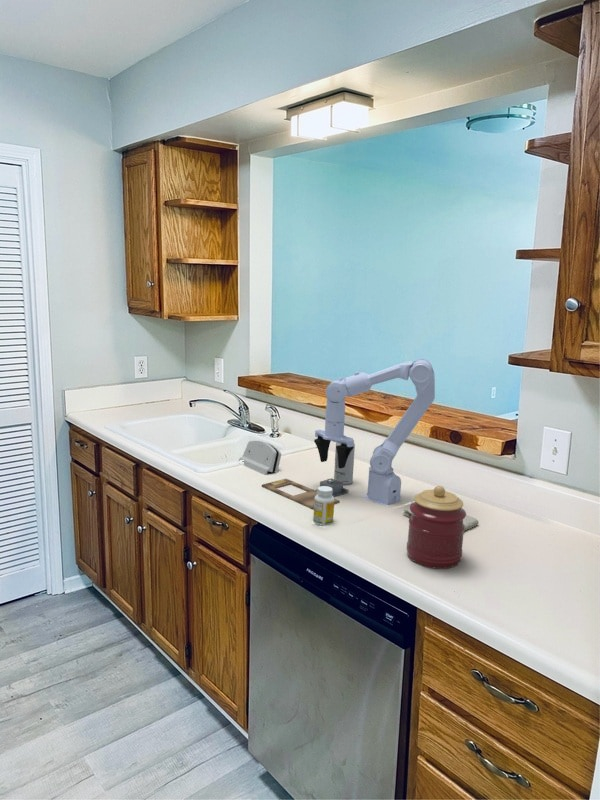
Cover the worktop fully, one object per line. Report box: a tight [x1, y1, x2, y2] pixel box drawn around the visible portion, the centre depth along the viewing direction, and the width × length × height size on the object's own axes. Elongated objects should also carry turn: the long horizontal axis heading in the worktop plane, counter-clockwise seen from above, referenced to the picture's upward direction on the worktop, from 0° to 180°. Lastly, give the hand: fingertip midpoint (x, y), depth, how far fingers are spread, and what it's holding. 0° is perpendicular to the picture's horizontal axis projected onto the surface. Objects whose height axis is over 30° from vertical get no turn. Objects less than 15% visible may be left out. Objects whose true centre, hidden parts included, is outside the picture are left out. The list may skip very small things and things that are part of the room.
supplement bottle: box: [312, 485, 335, 527], centre depth 156 cm, size 5×5×10 cm
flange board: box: [261, 478, 341, 511], centre depth 175 cm, size 24×10×2 cm, turn 42°
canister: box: [406, 485, 467, 569], centre depth 137 cm, size 13×13×18 cm
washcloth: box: [403, 506, 480, 532], centre depth 161 cm, size 12×18×3 cm, turn 44°
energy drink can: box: [333, 436, 356, 486], centre depth 186 cm, size 6×6×15 cm
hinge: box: [238, 440, 282, 476], centre depth 201 cm, size 17×5×10 cm, turn 40°
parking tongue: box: [314, 487, 350, 498], centre depth 179 cm, size 8×7×2 cm
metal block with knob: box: [319, 478, 344, 495], centre depth 178 cm, size 5×5×4 cm
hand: (332, 464), depth 177 cm, fingers open, 7 cm apart
